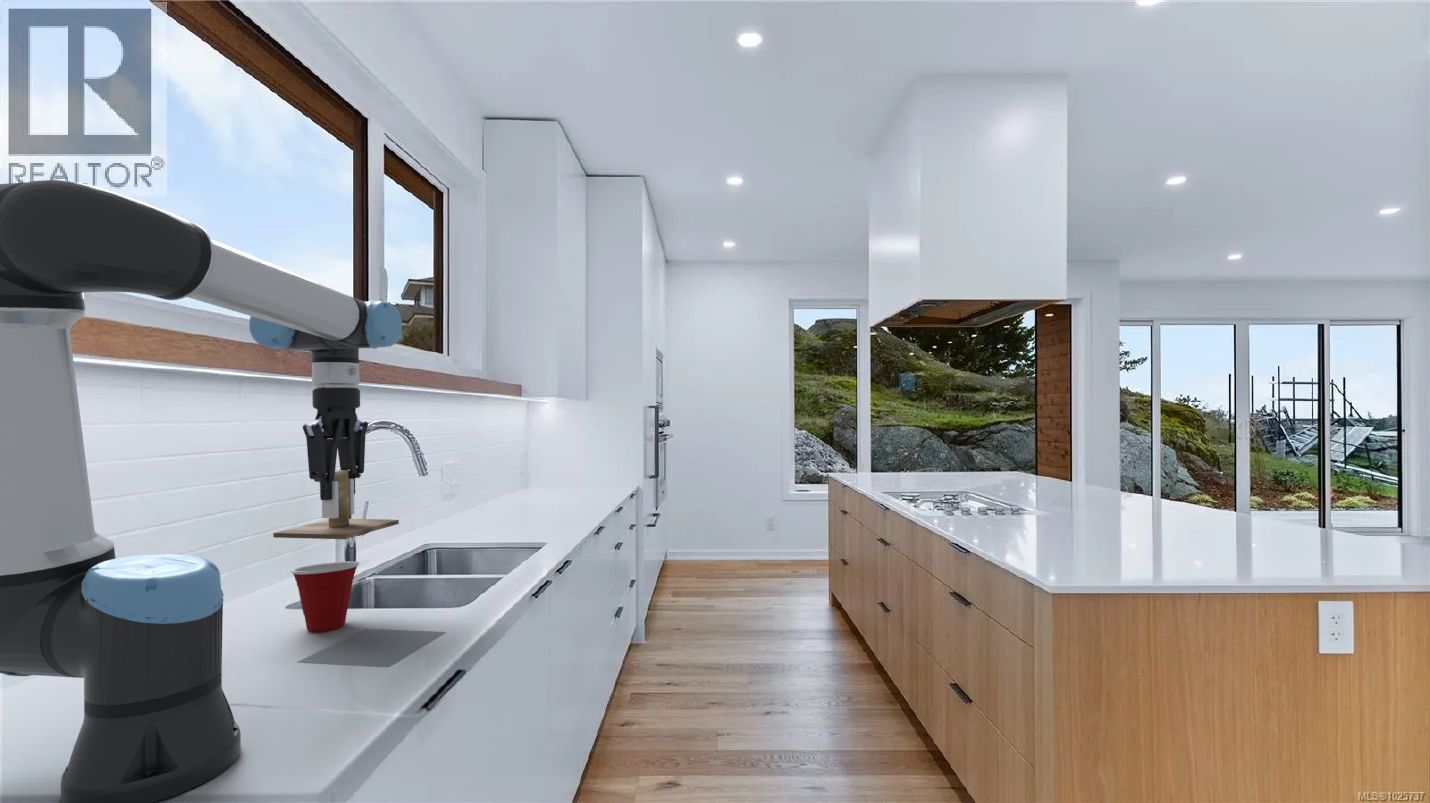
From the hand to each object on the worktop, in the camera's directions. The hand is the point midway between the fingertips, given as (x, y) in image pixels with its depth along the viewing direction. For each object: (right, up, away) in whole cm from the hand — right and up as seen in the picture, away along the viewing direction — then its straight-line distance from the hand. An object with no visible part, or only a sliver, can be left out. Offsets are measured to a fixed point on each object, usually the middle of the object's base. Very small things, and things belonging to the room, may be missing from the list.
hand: (338, 515), depth 119 cm
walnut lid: (0, -3, 0) cm, 3 cm away
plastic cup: (-3, -21, +2) cm, 22 cm away
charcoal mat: (+11, -21, -9) cm, 25 cm away
